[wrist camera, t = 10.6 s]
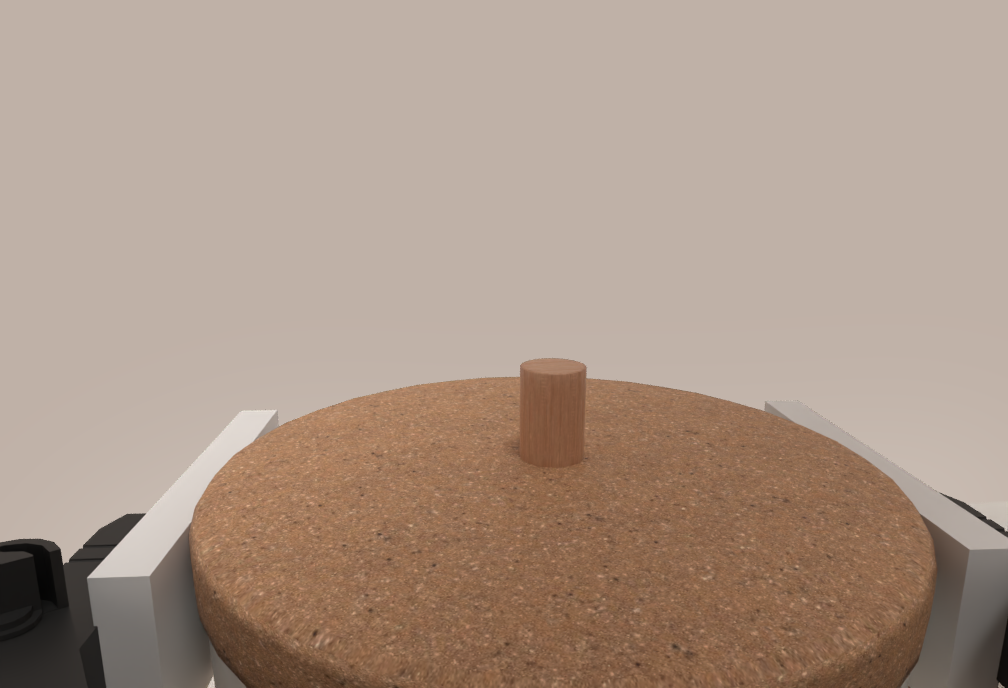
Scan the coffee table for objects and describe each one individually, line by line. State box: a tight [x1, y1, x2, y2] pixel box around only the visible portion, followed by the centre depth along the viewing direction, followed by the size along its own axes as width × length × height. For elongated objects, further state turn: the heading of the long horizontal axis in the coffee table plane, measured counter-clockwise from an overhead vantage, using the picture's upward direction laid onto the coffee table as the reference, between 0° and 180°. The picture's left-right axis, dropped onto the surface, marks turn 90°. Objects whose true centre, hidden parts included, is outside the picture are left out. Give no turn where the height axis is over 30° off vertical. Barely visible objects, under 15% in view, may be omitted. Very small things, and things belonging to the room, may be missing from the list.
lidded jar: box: [189, 358, 938, 688], centre depth 12 cm, size 11×11×9 cm
